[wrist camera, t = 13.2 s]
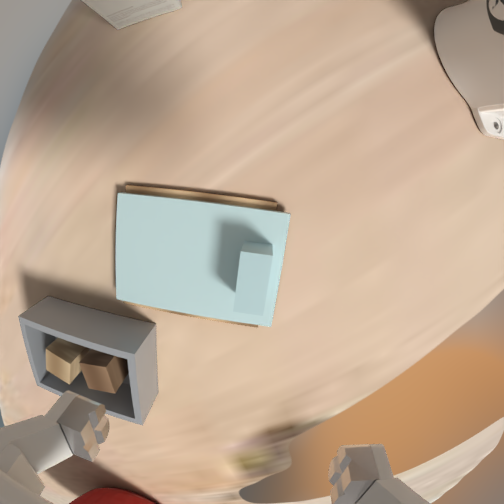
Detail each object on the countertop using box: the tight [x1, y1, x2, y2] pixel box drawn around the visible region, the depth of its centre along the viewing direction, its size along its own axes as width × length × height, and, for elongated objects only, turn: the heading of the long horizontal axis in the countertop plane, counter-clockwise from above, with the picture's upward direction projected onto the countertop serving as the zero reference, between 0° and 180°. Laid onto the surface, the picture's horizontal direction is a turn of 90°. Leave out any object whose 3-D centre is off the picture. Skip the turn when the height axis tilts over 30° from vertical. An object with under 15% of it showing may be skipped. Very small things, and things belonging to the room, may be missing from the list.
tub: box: [18, 296, 158, 425], centre depth 29 cm, size 15×10×6 cm, turn 82°
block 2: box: [79, 349, 129, 393], centre depth 29 cm, size 4×4×5 cm
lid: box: [116, 192, 290, 327], centre depth 25 cm, size 16×11×4 cm
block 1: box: [46, 338, 90, 385], centre depth 29 cm, size 4×4×5 cm
